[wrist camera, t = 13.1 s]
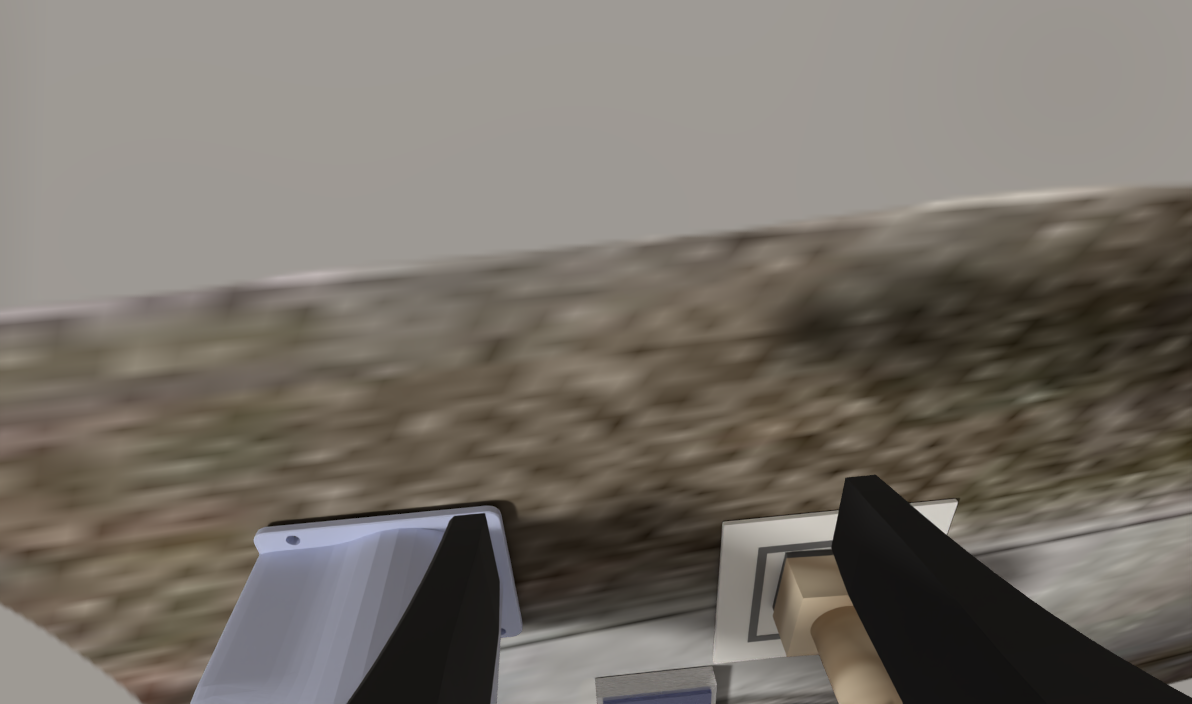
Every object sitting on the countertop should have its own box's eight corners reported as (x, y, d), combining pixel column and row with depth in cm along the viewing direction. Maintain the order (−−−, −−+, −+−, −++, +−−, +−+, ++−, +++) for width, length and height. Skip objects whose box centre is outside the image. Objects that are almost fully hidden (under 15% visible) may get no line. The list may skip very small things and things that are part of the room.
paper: (712, 660, 32) (713, 664, 31) (722, 521, 26) (723, 526, 26) (906, 639, 32) (908, 643, 32) (955, 498, 27) (958, 502, 26)
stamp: (770, 608, 29) (853, 845, 22) (783, 550, 27) (882, 790, 19) (852, 603, 30) (965, 835, 22) (872, 545, 28) (1005, 779, 20)
